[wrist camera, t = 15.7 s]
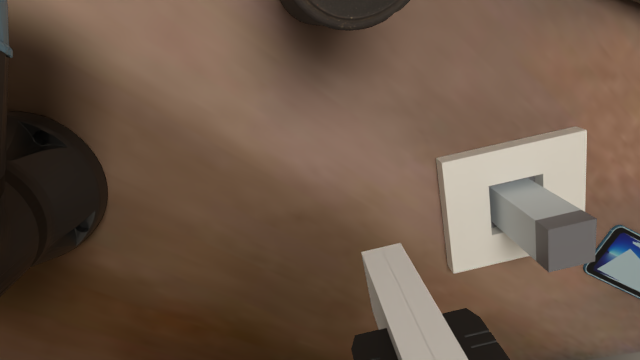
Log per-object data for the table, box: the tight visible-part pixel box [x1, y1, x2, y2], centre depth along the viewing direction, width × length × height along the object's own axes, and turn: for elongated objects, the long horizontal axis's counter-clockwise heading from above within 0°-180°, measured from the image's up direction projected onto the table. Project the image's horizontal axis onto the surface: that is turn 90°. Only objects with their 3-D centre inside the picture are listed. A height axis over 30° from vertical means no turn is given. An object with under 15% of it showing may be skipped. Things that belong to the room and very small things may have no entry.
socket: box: [436, 126, 587, 273], centre depth 48 cm, size 16×14×2 cm
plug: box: [490, 178, 597, 272], centre depth 43 cm, size 4×4×11 cm
